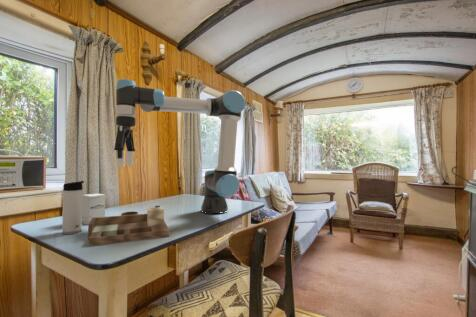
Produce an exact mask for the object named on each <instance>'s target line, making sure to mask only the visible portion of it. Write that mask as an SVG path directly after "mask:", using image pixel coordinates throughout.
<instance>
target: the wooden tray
mask: <svg viewBox="0 0 476 317" xmlns="http://www.w3.org/2000/svg"><path fill="white" fill-rule="evenodd" d="M87 226H88V227H87V229H88V230H87V231H88V232H87V239H88V246H89V247H92V246H99V245H109V244H116V243H119V244H120V243H126V242H134V241H135V242H136V241H143V240H153V239H159V238H169V237H170V229H169V227H168V224H167V223H166V221H165V220H164V224H163V225H153V226H148V224H147V213H140V214H139V213H138V214H136V215H123V216H121V215H112V216H111V215H110V216H105V217H96V218H92V219H91V221H90V223H89V224H88V225H87ZM152 238H153V239H152Z"/></svg>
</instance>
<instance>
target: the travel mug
mask: <svg viewBox="0 0 476 317" xmlns="http://www.w3.org/2000/svg"><path fill="white" fill-rule="evenodd" d="M84 183H85V182H84V180H81V181H75V182H67V183H64V184H63V187H62V190H63V193H62V227H61V229H62V231H61V233H62V234H63V235H66V236H67V235H68V236H69V235H76V234H79V233H81V232H83V231H82V230H83V227H82V226H83V223H82V195H83V193H84V192H83V190H84V189H83V184H84Z"/></svg>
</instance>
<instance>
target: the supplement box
mask: <svg viewBox="0 0 476 317" xmlns="http://www.w3.org/2000/svg"><path fill="white" fill-rule="evenodd" d="M96 217H106V193H105V194H104V193H88V194H82V224H84V225H87V226H88V224H89V223H90V221H91V219H92V218H96Z"/></svg>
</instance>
